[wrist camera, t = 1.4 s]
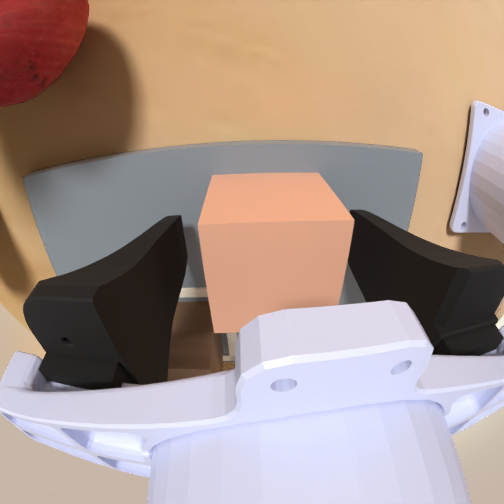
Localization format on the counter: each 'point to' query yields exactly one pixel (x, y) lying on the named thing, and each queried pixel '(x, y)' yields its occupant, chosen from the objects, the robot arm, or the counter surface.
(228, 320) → the terracotta block
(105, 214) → the slate gray plate
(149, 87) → the counter surface
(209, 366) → the walnut block
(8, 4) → the onion
